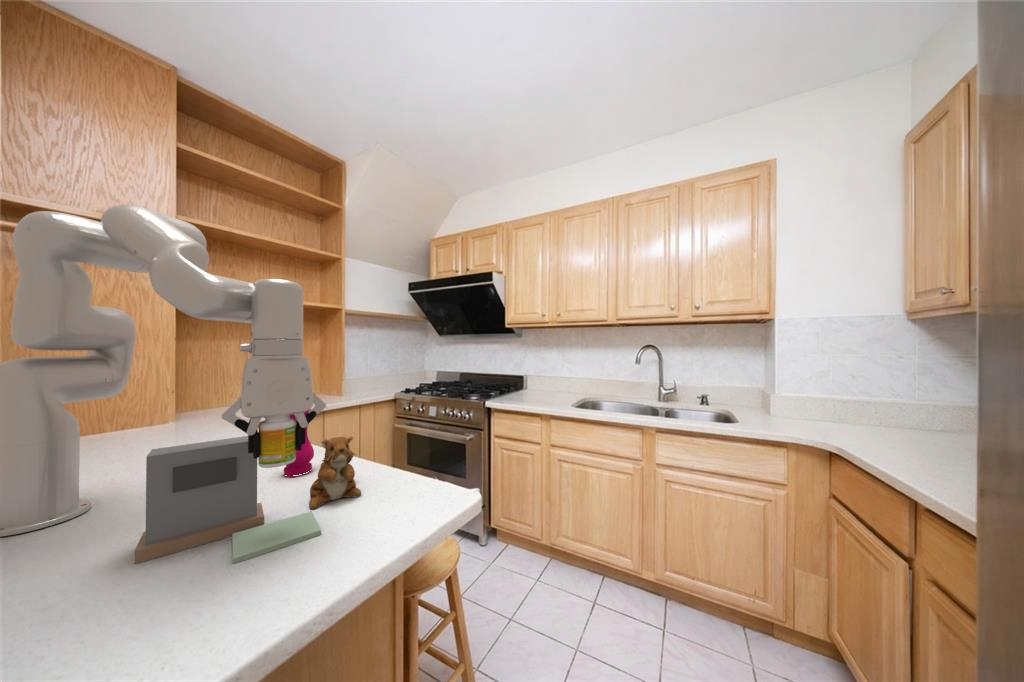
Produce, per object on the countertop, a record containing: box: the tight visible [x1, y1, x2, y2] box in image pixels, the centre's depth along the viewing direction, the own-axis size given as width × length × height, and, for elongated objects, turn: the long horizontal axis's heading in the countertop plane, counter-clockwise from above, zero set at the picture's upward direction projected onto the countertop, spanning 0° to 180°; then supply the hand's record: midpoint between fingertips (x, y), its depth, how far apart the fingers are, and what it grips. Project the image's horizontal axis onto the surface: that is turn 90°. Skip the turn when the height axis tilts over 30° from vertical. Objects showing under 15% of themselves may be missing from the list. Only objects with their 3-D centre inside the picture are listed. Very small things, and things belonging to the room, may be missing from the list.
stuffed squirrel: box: [308, 435, 362, 510], centre depth 75 cm, size 10×14×13 cm
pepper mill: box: [283, 408, 315, 476], centre depth 88 cm, size 7×7×20 cm
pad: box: [231, 510, 322, 565], centre depth 58 cm, size 12×9×1 cm
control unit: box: [133, 435, 265, 565], centre depth 59 cm, size 16×7×16 cm, turn 131°
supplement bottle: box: [257, 414, 296, 469], centre depth 58 cm, size 5×5×10 cm
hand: (277, 451), depth 58 cm, fingers closed on supplement bottle, 5 cm apart
